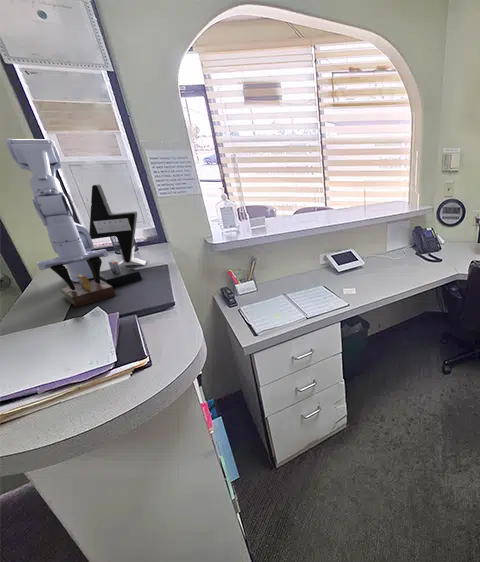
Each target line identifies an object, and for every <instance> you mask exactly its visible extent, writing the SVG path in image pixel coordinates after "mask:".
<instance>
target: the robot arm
mask: <svg viewBox="0 0 480 562" xmlns="http://www.w3.org/2000/svg"><path fill="white" fill-rule="evenodd" d="M5 144H6V146H7V148H8V152H9V154H10V155H11V158H12V159H13V160H14V161H15V163H16V165H17V166H18V167H19V168H20V169H21V170H25V171H29V172H30V173H32V176H31V177H30V178H29V181H28V182H29V185H30V188H31V191H32V194H33V198H31V199H32V204H33V207H34V210H35V211H36V214H37V215H38V217H39V218H40V219H41V222H42V223H43V226H45V227H46V230H47V235H48V238H49V239H48V240H49V242H50V245H51V247H52V249H53V251H54V253H55V254H57V257H53V258H49V259H45V260H41V261H40V260H39V261H37V262H36V264H37V265H36V266H37V267H38V269H39V270H40V271H44V270H47V269H50V270H52V271H53V272H54V273H55V274H57V275H58V277H60V278H61V279H62V280H63V281H64V282H65V283H66V284H67V287H70V289H71V290H76V289H75V286H74V285H75V284H74V283H78V282H79V280H78V277H77V275H80V274H82V275H84V276H86V277H87V278H88V280H91V279H93V280H95V283H97V284H99V283H100V272H101V267H102V264H103V263H102V262H103V260H102V259H101V258H106V257H109V253H108V250H107V249H105V248H102V249H96V250H94V248H95V245H94V242H93V239H91V237H90V234H89V232H90V231H89V229H88V228H87V227H86V226H85V225H83V224H80V223H78V222H75V220H74V217H73V215H74V214H73V213H74V212H73V210H72V206H71V204H70V202H69V200H68V197H67V196H66V194H65V193H64V190H63V189H62V185H61V183H60V180H59V179H58V178H57V170H59V169H62V168H63V166H62V165H63V163H62V159H61V156H60V154H59V151H58V149H57V146H56V143H55V141H54V139H53V140H52V139H51V138H47V139H41V138H40V139H39V138H35V139H34V138H22V139H21V138H6V140H5ZM73 282H74V283H73ZM79 283H80V282H79Z"/></svg>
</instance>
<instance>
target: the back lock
mask: <svg viewBox="0 0 480 562" xmlns="http://www.w3.org/2000/svg"><path fill="white" fill-rule="evenodd" d="M118 263H119V262H117V261H114V260H108V266H109V269H111V271H112V272H115V273H117V274H118V273H121V270H120V268H119V265H118Z"/></svg>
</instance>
